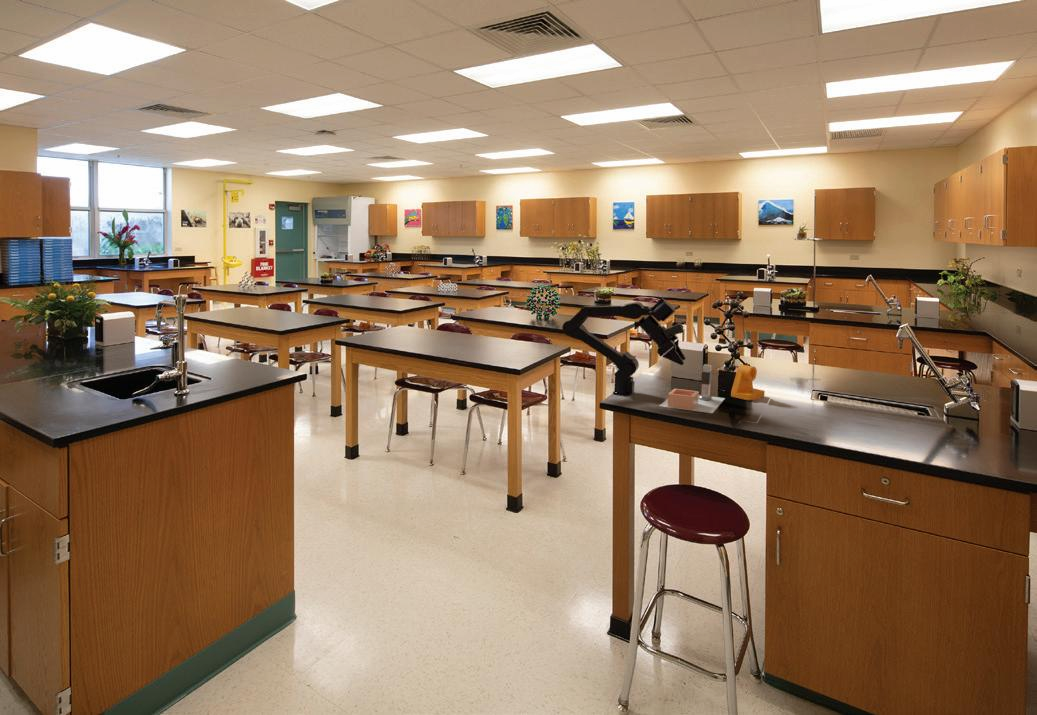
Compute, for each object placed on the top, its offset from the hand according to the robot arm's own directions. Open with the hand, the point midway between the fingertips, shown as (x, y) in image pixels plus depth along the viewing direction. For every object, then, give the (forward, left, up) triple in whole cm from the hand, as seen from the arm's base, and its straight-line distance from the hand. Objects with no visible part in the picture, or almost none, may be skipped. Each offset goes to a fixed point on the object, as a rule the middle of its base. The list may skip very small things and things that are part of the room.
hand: (683, 361), depth 213 cm
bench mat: (+5, -5, -14) cm, 15 cm away
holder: (+3, -11, -13) cm, 17 cm away
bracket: (+21, +12, -14) cm, 28 cm away
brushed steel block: (+8, +1, -13) cm, 16 cm away
